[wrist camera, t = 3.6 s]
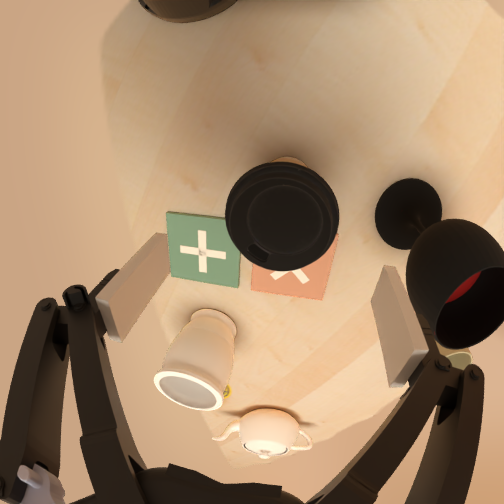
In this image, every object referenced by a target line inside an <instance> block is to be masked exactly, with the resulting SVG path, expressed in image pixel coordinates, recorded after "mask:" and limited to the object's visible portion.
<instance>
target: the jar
mask: <svg viewBox="0 0 504 504" xmlns="http://www.w3.org/2000/svg"><path fill="white" fill-rule="evenodd" d="M235 336H236V326H235V324H234V322H233V321H232V320H231V319H230V318H229V317H228V316H227V315H225V314H223V313H221V312H219V311H216V310H212V309H201V310H198V311H196V312H195V313H194V314H193V315H192V316H191V319H190V322H189V323H188V324H187V325H185V327H184V328H183V329H182V330H181V331H180V333H179V334H178V335H177V337H176V338H175V339H174V340H173V342H172V343H171V345H170V347H169V348H168V351H167V353H166V355H165V358H164V362H163V366H162V369H161V370H159V371H158V372H157V373H156V376H155V377H154V383H155V385H156V387H157V388H158V390H159V391H160V392H161V393H162V394H164V395H165V396H166V397H167V398H169V399H170V400H172V401H174V402H176V403H178V404H180V405H183V406H185V407H188V408H192V409H196V410H204V411H208V410H215V409H217V408H219V407H220V406H221V405H222V403H223V400H224V396H223V391H224V390H225V388H226V386H227V384H228V382H229V379H230V376H231V373H232V368H233V356H234V340H233V339H234V337H235Z"/></svg>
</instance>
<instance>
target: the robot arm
mask: <svg viewBox="0 0 504 504" xmlns="http://www.w3.org/2000/svg"><path fill="white" fill-rule="evenodd" d="M138 1H139V2H140V4H141V5H142V7H143V8H144V9H145V10H146V11H148V12H149V13H151V14H152V15H154V16H156V17H159V18H161V19H163V20H166V21H170V22H179V23H184V22H194V21H198V20H202V19H206V18H209V17H211V16H214V15H216V14H218V13H220V12H222V11H224V10H225V9H227V8H228V7H230V6H231V5H232V4H234V3H235V2H236V1H237V0H138ZM170 272H171V271H170V262H169V251H168V239H167V234H162V233H155V234H154V235H153V236H152V237H151V238H150V239H149V240H148V241H147V242H146V243H145V244H144V245H143V246H142V247H141V248H140V250H139V251H138V252H137V253H136V254H135V255H134V256H133V257H132V258H131V259H130V260H129V261H128V262H127V263H126V264H125V265H124V266H123V267H122V268H121V270H119V269H115V270H113V271H111V272H110V273H108V274H107V275H106V276H105V278H103V280H102V281H101V282H100V283H99V284H98V285H97V286H96V287H95V288H94V289H93V290H92V291H91V293H90V294H89V295H88V293H87V290H86V287H84V286H83V285H73V286H70V287H68V288H67V289H66V290H65V291H64V292H63V295H62V297H63V299H64V302H65V305H66V306H58V304H57V302H56V300H55V299H54V298H45V299H42V300H41V301H40V302H39V303H38V304H37V305H36V307H35V310H34V312H33V315H32V318H31V320H30V323H29V326H28V328H27V331H26V334H25V337H24V340H23V343H22V346H21V349H20V353H19V356H18V359H17V363H16V366H15V370H14V374H13V378H12V382H11V386H10V390H9V395H8V399H7V405H6V410H5V415H4V422H3V428H2V437H1V440H0V499H1V500H2V501H5V502H7V503H9V504H65V502H64V500H63V497H64V496H65V491H64V489H63V487H62V484H61V482H60V480H59V479H58V476H59V469H60V443H61V422H62V409H63V398H64V390H65V382H66V375H67V368H68V362H69V357H70V361H71V370H72V378H73V385H74V392H75V398H76V403H77V409H78V414H79V419H80V423H81V428H82V433H83V436H81V437H80V445H81V449H82V453H83V457H84V460H85V464H86V467H87V470H88V474H89V477H90V480H91V483H92V486H93V489H94V491H95V494H92V495H90V496H88V497H85V498H83V499H80V500H78V501H75V502H72V503H70V504H304V503H303V502H302V501H301V500H300V499H298V498H297V497H295V496H294V495H292V494H290V493H287V492H285V491H282V486H277V485H267V484H260V483H239V484H223V483H220V482H217V481H215V480H213V479H211V478H209V477H207V476H205V475H203V474H201V473H199V472H197V471H194V470H190V469H187V468H184V467H180V466H177V465H173V464H169V466H168V468H166V467H162V468H161V467H159V468H151V469H147V467H146V466H145V463H144V461H143V460H142V458H141V456H140V454H139V453H138V450H137V448H136V446H135V443H134V440H133V437H132V435H131V432H130V429H129V426H128V423H127V421H126V418H125V415H124V412H123V408H122V405H121V402H120V399H119V395H118V392H117V388H116V385H115V381H114V377H113V374H112V370H111V366H110V362H109V357H108V353H107V349H106V344H105V340H104V337H103V335H104V334H105V333H106V331H107V333H108V335H109V338H110V339H111V340H114V341H117V342H120V343H122V342H123V340H124V339H125V338H126V336H127V334H128V333H129V331H130V330H131V328H132V327H133V325H134V324H135V322H136V321H137V319H138V318H139V316H140V315H141V313H142V312H143V310H144V309H145V307H146V306H147V304H148V303H149V302H150V300H151V299H152V297H153V296H154V294H155V293H156V292H157V290H158V289H159V287H160V286H161V284H162V283H163V282H164V280H165V279H166V277H167V276H168V274H169V273H170ZM371 305H372V309H373V313H374V317H375V321H376V325H377V329H378V334H379V338H380V343H381V347H382V352H383V357H384V362H385V367H386V373H387V378H388V384H389V387H403V386H404V385H405V383H406V382H407V381H408V382H409V386H410V387H409V388H408V389H407V390H406V392H405V393H404V394H403V395H402V396H401V398H400V401H399V402H398V404H397V405H396V406H395V408H394V409H393V411H392V412H391V413H390V414H389V416H388V417H387V418H386V420H385V421H384V422H383V424H382V425H381V426H380V428H379V429H378V430H377V431H376V433H375V434H374V435H373V436H372V438H371V439H370V440H369V441H368V442H367V443H366V445H365V446H364V447H363V448H362V449H361V450H360V451H359V453H358V454H357V455H356V456H355V457H354V458H353V459H352V460H351V461H350V462H349V463H348V465H347V466H346V467H345V468H344V469H343V470H342V471H341V472H340V473H339V474H338V475H337V476H336V477H335V478H334V479H333V480H332V481H331V482H330V483H329V484H328V485H326V486H325V487H324V488H323V489H322V490H321V491H320V492H318V493H317V494H316V495H315V496H313V497H312V498H311V499H310V500H309V501H307V502H306V503H305V504H373V503H374V502H375V501H376V499H377V497H378V492H379V491H380V489H381V488H382V487H383V485H384V484H385V483H386V481H387V480H388V479H389V478H390V477H391V475H392V474H393V473H394V471H395V470H396V468H397V467H398V466H399V464H400V463H401V461H402V460H403V458H404V457H405V456H406V454H407V453H408V451H409V449H410V448H411V447H412V445H413V444H414V442H415V440H416V439H417V437H418V435H419V434H420V432H421V431H422V429H423V427H424V425H425V424H426V422H427V420H428V418H429V416H430V415H431V413H432V411H433V409H434V407H435V406H436V405H437V408H436V413H435V416H434V421H433V424H432V428H431V432H430V436H429V439H428V443H427V446H426V449H425V452H424V455H423V458H422V461H421V464H420V467H419V470H418V472H417V475H416V478H415V480H414V483H413V485H412V488H411V490H410V493H409V495H408V497H407V499H406V502H405V504H464V503H465V500H466V497H467V493H468V490H469V486H470V482H471V478H472V474H473V470H474V466H475V461H476V456H477V450H478V445H479V438H480V431H481V423H482V413H483V401H484V400H483V399H484V373H483V372H482V370H481V369H480V368H479V367H478V366H477V365H475V364H469V365H467V366H466V367H465V369H464V370H462V369H458V368H455V367H452V363H451V362H450V360H449V359H448V358H447V357H446V356H444V355H442V354H440V352H439V349H438V346H437V344H436V341H435V338H434V336H433V333H432V331H431V330H430V326H429V323H428V321H427V320H426V319H425V318H424V316H423V315H422V314H415V311H414V309H413V306H412V304H411V302H410V299H409V297H408V294H407V292H406V290H405V288H404V285H403V283H402V281H401V279H400V276H399V274H398V272H397V270H396V268H395V267H393V266H386V265H384V266H383V269H382V272H381V275H380V278H379V281H378V283H377V286H376V289H375V291H374V294H373V297H372V299H371Z"/></svg>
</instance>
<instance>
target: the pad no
mask: <svg viewBox="0 0 504 504" xmlns="http://www.w3.org/2000/svg"><path fill="white" fill-rule="evenodd" d="M337 240H338V234H336V237H335V239H334V241H333V243H332V245H331V246H330V248H329V249H328V250H327V252H326V253H325V254H324V255H323V256H322V257H320V258H319V259H318V260H316V261H315V262H313V263H311V264H309V265H307V266H305V267H303V268H300V269H297V270H293V271H272V270H268V269H265V268H262V267H260V266H257V265H256V264H254V263H253V270H252V282H251V290H253V291H259V292H266V293H272V294H279V295H286V296H293V297H300V298H307V299H315V300H322V299H323V296H324V292H325V288H326V285H327V281H328V277H329V273H330V269H331V265H332V261H333V257H334V253H335V249H336V245H337Z"/></svg>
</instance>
